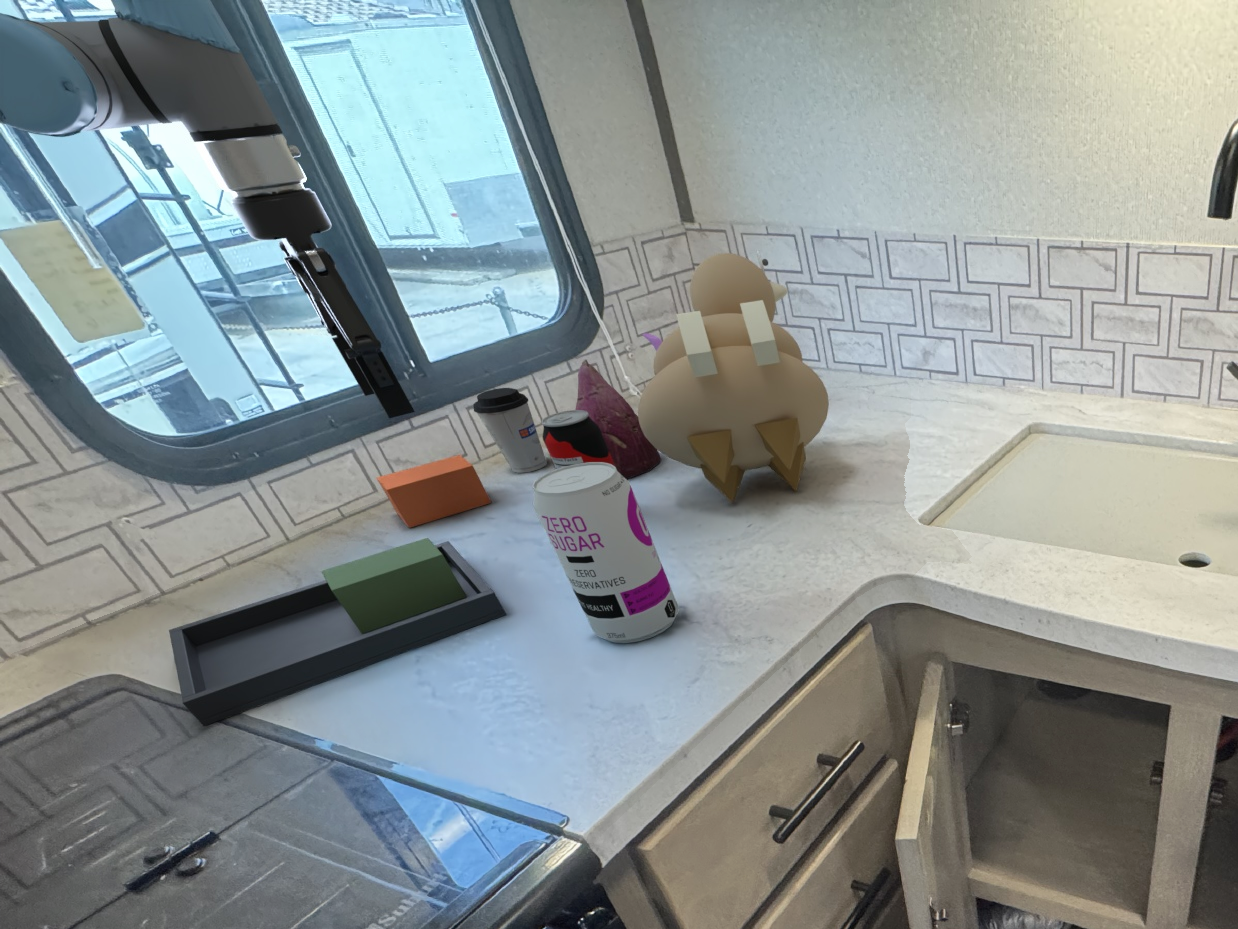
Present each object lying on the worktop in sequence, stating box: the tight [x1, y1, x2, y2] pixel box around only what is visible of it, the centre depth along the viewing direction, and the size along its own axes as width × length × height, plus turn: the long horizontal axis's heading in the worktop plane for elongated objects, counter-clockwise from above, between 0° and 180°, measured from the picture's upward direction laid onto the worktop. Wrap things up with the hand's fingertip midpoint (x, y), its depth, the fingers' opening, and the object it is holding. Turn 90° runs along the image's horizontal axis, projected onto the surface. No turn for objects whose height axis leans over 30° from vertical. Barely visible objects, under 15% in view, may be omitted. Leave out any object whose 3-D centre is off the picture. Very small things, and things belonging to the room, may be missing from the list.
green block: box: [321, 537, 467, 634], centre depth 87 cm, size 6×10×5 cm, turn 132°
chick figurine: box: [637, 250, 830, 504], centre depth 102 cm, size 30×28×23 cm
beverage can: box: [541, 409, 615, 470], centre depth 101 cm, size 6×6×12 cm
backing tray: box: [168, 540, 507, 727], centre depth 85 cm, size 18×26×3 cm
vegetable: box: [574, 359, 662, 480], centre depth 114 cm, size 10×10×15 cm
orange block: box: [376, 454, 492, 529], centre depth 108 cm, size 6×10×5 cm, turn 132°
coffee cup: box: [473, 387, 548, 474], centre depth 116 cm, size 7×7×10 cm
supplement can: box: [532, 462, 680, 644], centre depth 79 cm, size 8×8×15 cm
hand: (389, 403), depth 101 cm, fingers open, 13 cm apart
